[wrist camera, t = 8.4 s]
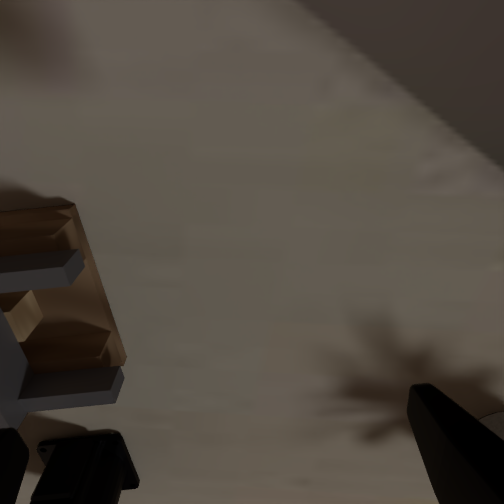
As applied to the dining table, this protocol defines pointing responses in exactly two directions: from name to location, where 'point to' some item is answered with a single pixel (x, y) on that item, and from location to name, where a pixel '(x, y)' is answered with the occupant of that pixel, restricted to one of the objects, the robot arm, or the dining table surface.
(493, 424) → the house plant
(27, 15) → the dining table surface
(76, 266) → the grey c-shaped bracket
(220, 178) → the dining table surface
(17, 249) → the display stand
